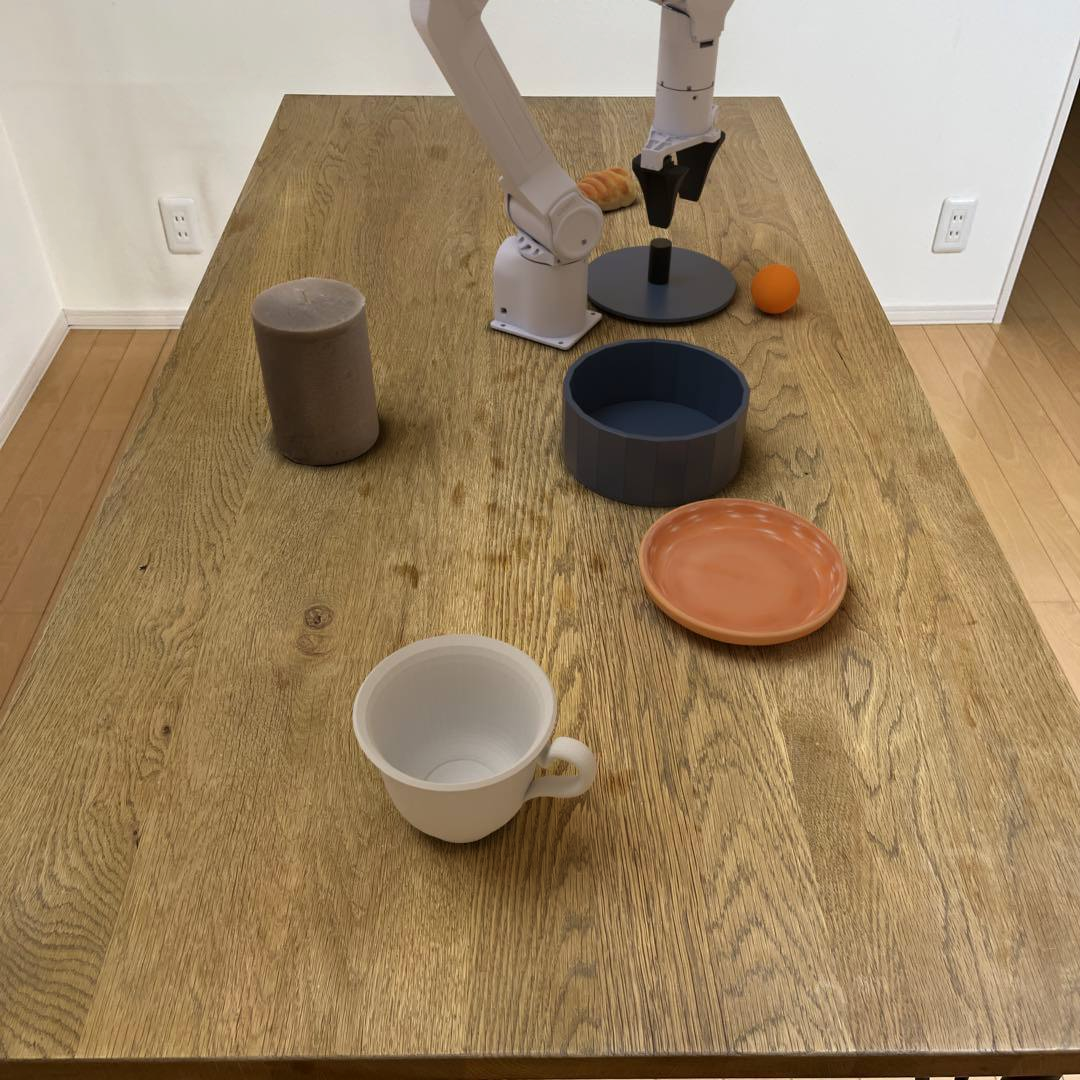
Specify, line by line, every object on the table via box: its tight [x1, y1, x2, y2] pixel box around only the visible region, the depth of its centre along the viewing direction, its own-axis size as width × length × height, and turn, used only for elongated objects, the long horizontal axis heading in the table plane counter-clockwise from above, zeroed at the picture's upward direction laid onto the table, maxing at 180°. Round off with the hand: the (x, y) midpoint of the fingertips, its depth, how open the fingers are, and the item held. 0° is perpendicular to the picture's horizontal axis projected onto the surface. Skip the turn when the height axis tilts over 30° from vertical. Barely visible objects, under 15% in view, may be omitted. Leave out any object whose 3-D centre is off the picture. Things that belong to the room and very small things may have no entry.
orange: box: [750, 263, 801, 315], centre depth 119 cm, size 5×5×5 cm
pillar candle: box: [250, 276, 380, 466], centre depth 98 cm, size 10×10×15 cm
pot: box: [560, 337, 751, 508], centre depth 99 cm, size 16×16×7 cm
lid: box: [587, 237, 737, 324], centre depth 123 cm, size 17×17×6 cm
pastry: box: [575, 165, 638, 213], centre depth 140 cm, size 9×7×4 cm
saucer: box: [638, 497, 848, 646], centre depth 86 cm, size 16×16×3 cm
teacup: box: [352, 633, 598, 844], centre depth 68 cm, size 12×15×10 cm
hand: (674, 212), depth 118 cm, fingers open, 7 cm apart
